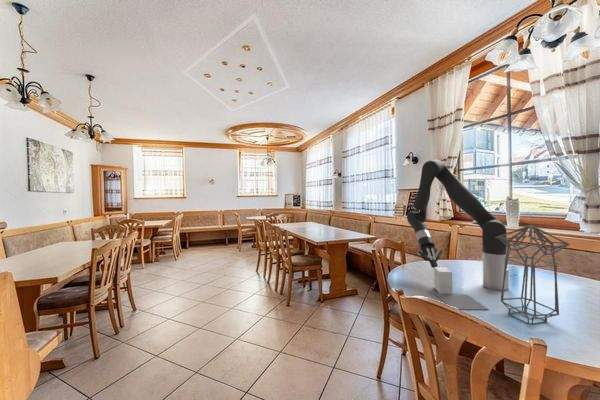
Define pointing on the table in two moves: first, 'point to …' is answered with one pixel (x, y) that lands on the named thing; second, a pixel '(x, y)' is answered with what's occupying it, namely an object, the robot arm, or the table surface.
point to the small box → (443, 280)
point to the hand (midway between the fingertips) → (435, 267)
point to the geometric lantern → (539, 234)
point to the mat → (461, 301)
